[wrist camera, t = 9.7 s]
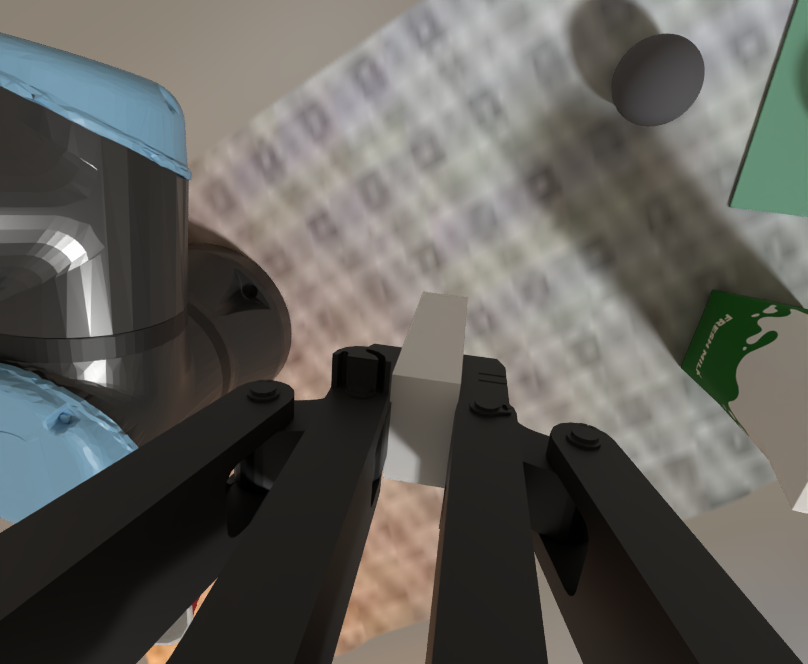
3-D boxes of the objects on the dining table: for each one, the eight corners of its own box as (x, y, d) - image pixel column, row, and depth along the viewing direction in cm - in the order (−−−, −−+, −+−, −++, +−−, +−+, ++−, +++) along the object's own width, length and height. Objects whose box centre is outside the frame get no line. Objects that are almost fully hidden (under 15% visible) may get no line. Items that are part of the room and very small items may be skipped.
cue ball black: (703, 122, 32) (684, 131, 37) (724, 21, 30) (701, 45, 35) (608, 119, 33) (602, 129, 38) (623, 23, 32) (616, 46, 37)
